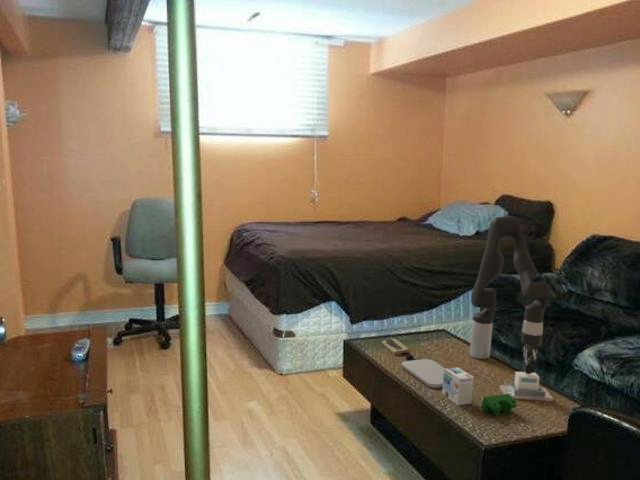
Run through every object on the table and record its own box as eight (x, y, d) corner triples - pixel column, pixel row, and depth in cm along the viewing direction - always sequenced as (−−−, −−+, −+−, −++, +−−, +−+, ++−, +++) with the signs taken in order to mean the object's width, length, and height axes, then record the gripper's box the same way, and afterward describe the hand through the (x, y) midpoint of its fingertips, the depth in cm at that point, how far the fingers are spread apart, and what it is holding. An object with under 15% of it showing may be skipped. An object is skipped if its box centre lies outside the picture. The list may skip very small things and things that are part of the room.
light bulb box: (441, 394, 218) (443, 368, 217) (455, 392, 221) (457, 366, 219) (457, 405, 208) (459, 378, 207) (472, 403, 211) (474, 376, 209)
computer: (381, 345, 275) (381, 338, 274) (396, 344, 277) (396, 338, 276) (393, 356, 260) (394, 349, 259) (409, 355, 262) (410, 348, 261)
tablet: (430, 390, 223) (430, 384, 222) (398, 366, 247) (398, 361, 246) (464, 385, 229) (464, 380, 228) (429, 363, 252) (430, 358, 252)
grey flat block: (499, 387, 227) (500, 380, 227) (544, 390, 226) (545, 383, 226) (506, 397, 218) (507, 390, 217) (552, 401, 217) (553, 393, 216)
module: (513, 387, 225) (515, 371, 224) (533, 389, 224) (535, 372, 223) (517, 393, 220) (519, 376, 219) (537, 394, 219) (539, 377, 218)
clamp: (492, 427, 202) (489, 409, 198) (482, 416, 207) (479, 399, 203) (519, 413, 204) (517, 395, 200) (509, 402, 210) (507, 385, 205)
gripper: (517, 326, 225) (513, 366, 227) (527, 336, 212) (523, 379, 214) (536, 327, 225) (532, 367, 227) (547, 337, 211) (543, 380, 214)
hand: (527, 373), depth 221 cm, fingers closed
